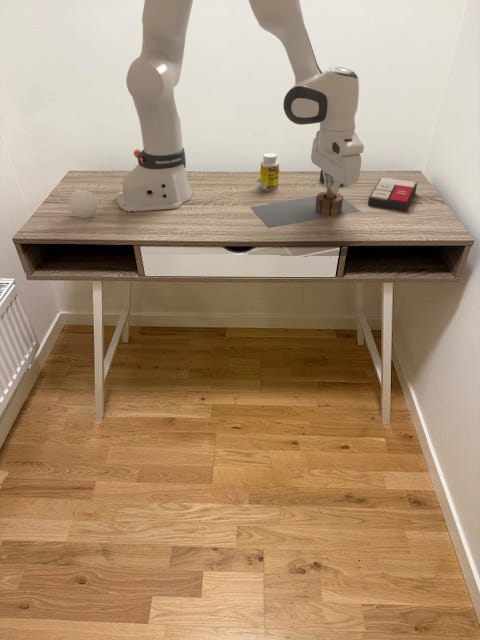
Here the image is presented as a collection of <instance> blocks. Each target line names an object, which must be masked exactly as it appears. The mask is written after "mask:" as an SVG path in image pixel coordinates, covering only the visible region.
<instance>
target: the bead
mask: <svg viewBox="0 0 480 640" xmlns="http://www.w3.org/2000/svg"><path fill="white" fill-rule="evenodd" d="M326 195H327V190H326V191H322V192H319V193H318V194H317V195H315V196H316V208H315V209H316V211H317V212H318V213H319V214H320V213H321V214H322V215H328V216H329V215H331V216H332V215H337V214H340V212H341V211H342V204H343V198H344V196H343V195H342V194H341V193H340V192H338V193H335V199H331V200H330V199H326ZM337 216H338V215H337ZM332 217H333V216H332Z"/></svg>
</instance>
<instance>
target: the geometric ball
mask: <svg viewBox="0 0 480 640" xmlns="http://www.w3.org/2000/svg"><path fill="white" fill-rule="evenodd" d="M98 206H99V205H98V199H97V197H96V196H95V195H94V194H93V193H92V192H90V191H88V190H85V189H77V190H75V191H74V192H73V193H72V194H70V196H69V200H68V207H69V211H70V212H71V213H72V214H73V215H74V216H75V217H78V218H80V219H82V220H83V219H90V218H91V217H92V216H94V215H95V214H96V213H97V210H98Z"/></svg>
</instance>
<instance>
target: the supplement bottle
mask: <svg viewBox="0 0 480 640" xmlns="http://www.w3.org/2000/svg"><path fill="white" fill-rule="evenodd" d="M277 159H278V157H277V154H276V153H274V152H273V153H272V152H268V153H264V154H263V158H262V160H261V162H260V168H261V173H260V182H259V183H260V184H259V186H260V188H261V190H265V191H272V190H276V189H278V187H279V176H280V175H279V174H280V162H279V161H278V160H277Z"/></svg>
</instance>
